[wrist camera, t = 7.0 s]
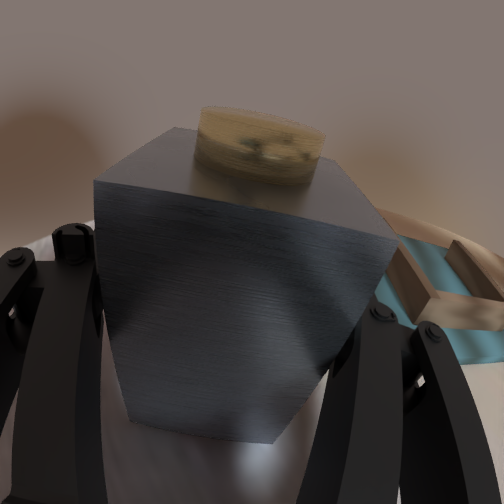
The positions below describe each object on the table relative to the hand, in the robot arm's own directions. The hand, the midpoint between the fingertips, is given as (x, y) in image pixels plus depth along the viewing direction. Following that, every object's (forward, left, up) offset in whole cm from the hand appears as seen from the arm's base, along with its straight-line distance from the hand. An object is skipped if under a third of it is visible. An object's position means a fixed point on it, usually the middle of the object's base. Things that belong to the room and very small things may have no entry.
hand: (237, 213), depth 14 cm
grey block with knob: (+3, +4, -6) cm, 8 cm away
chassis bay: (-19, +4, -6) cm, 21 cm away
